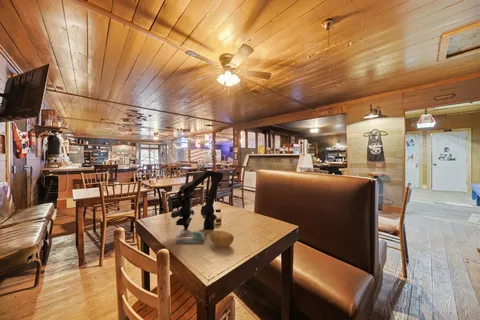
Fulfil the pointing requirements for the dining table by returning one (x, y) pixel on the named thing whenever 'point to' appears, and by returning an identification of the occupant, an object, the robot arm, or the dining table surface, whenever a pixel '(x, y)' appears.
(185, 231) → the tong arm
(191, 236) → the slate board
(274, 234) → the dining table surface
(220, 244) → the potato
